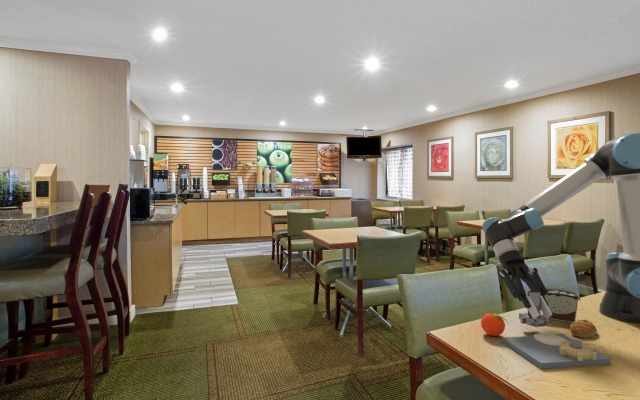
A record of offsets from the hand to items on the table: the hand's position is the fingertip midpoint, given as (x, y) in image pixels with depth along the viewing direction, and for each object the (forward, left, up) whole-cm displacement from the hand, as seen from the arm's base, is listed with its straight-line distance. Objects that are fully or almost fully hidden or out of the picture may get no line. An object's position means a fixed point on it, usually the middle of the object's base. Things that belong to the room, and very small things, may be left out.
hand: (542, 316), depth 112 cm
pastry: (-15, -1, -7) cm, 17 cm away
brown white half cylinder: (-18, -15, -7) cm, 24 cm away
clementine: (+14, -3, -7) cm, 16 cm away
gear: (0, -4, -3) cm, 5 cm away
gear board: (+5, +10, -6) cm, 13 cm away
